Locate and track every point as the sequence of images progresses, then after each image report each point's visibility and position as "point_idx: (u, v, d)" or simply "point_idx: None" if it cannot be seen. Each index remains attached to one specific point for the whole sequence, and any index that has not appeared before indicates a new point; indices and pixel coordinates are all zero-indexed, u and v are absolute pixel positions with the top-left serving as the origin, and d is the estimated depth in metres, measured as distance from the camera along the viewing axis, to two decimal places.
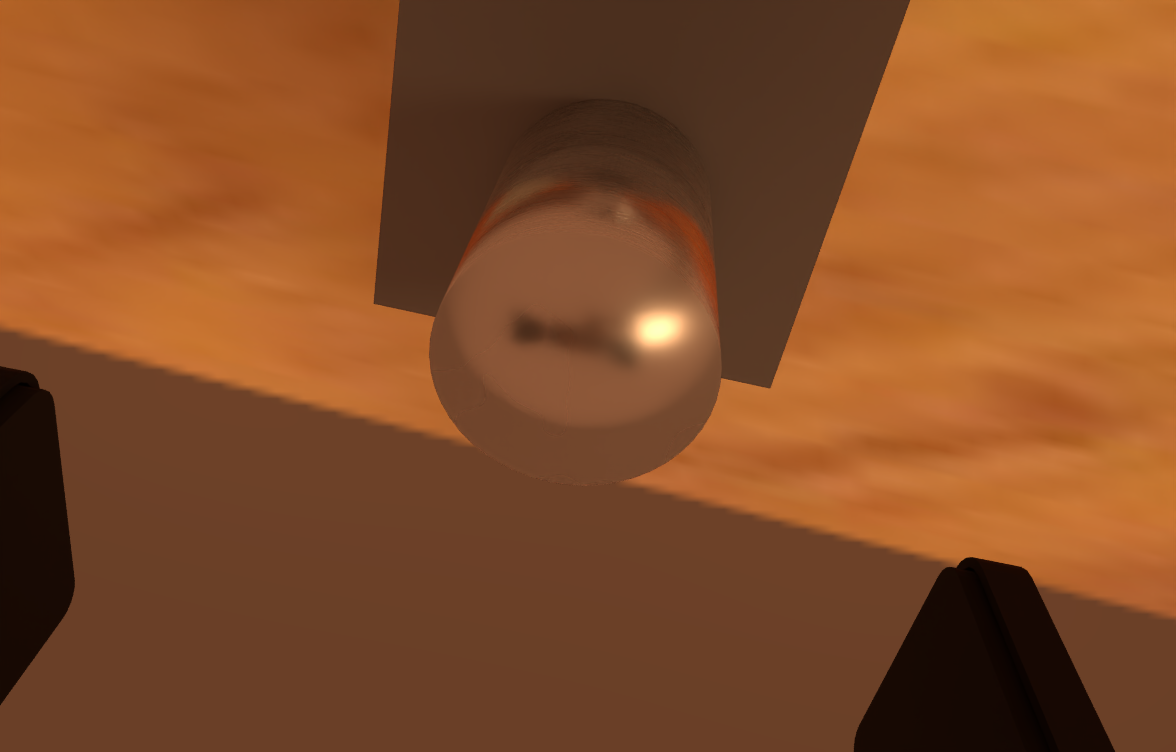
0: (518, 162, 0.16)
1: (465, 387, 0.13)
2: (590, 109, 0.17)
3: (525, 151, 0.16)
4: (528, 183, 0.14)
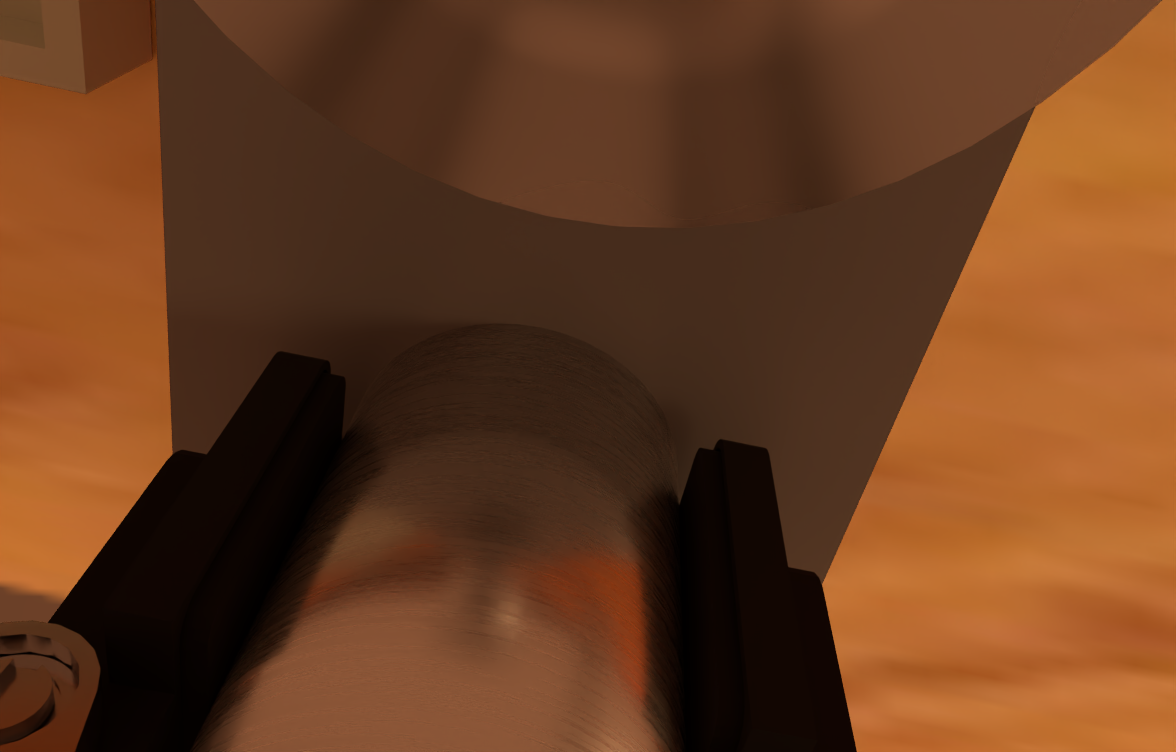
0: (346, 468, 0.09)
1: None
2: (478, 350, 0.10)
3: (362, 440, 0.09)
4: (335, 564, 0.08)
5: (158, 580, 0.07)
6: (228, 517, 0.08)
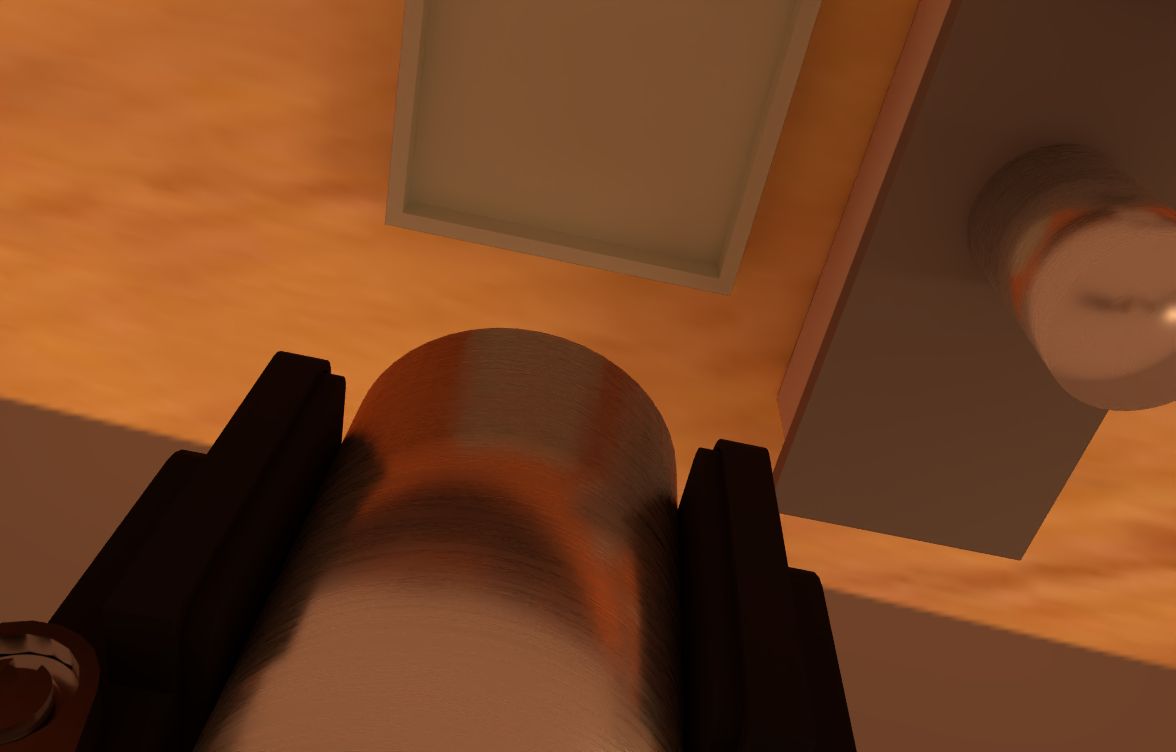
0: (345, 473, 0.09)
1: None
2: (477, 355, 0.10)
3: (362, 445, 0.09)
4: (335, 570, 0.08)
5: (158, 580, 0.07)
6: (228, 517, 0.08)
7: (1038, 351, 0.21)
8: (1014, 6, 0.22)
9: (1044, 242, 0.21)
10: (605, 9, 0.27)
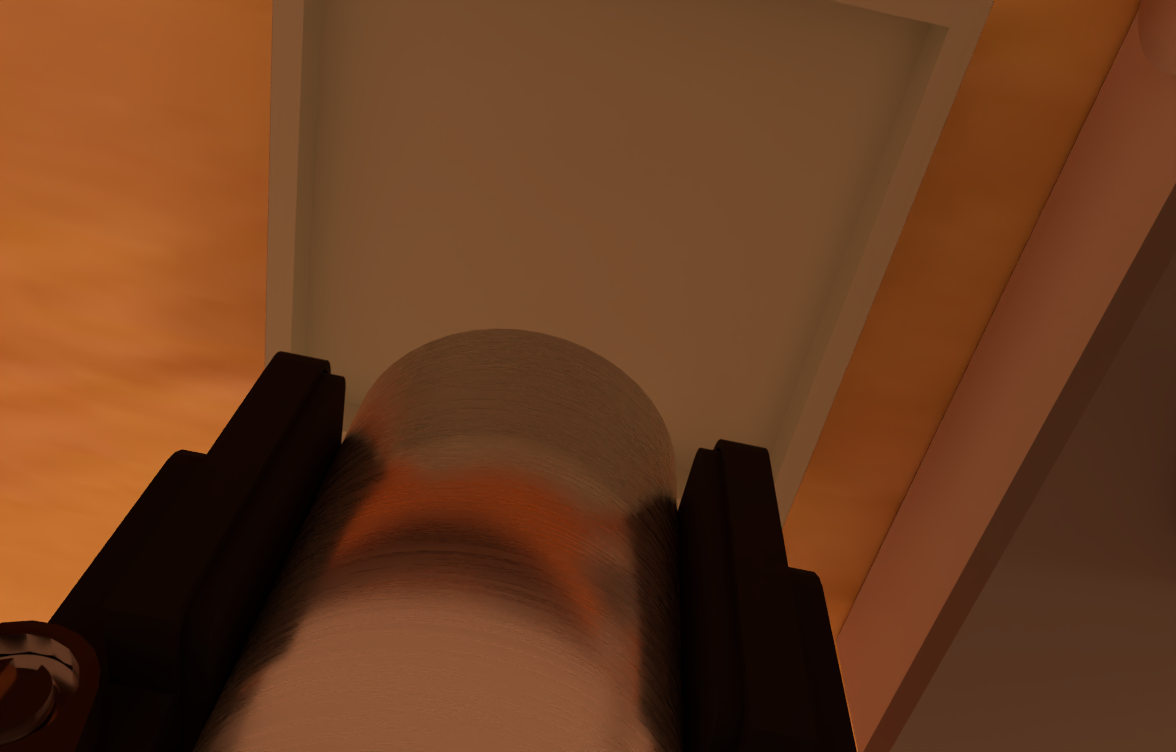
0: (345, 474, 0.09)
1: None
2: (476, 356, 0.10)
3: (361, 445, 0.09)
4: (334, 571, 0.08)
5: (158, 580, 0.07)
6: (228, 517, 0.08)
7: None
8: None
9: None
10: (591, 131, 0.17)
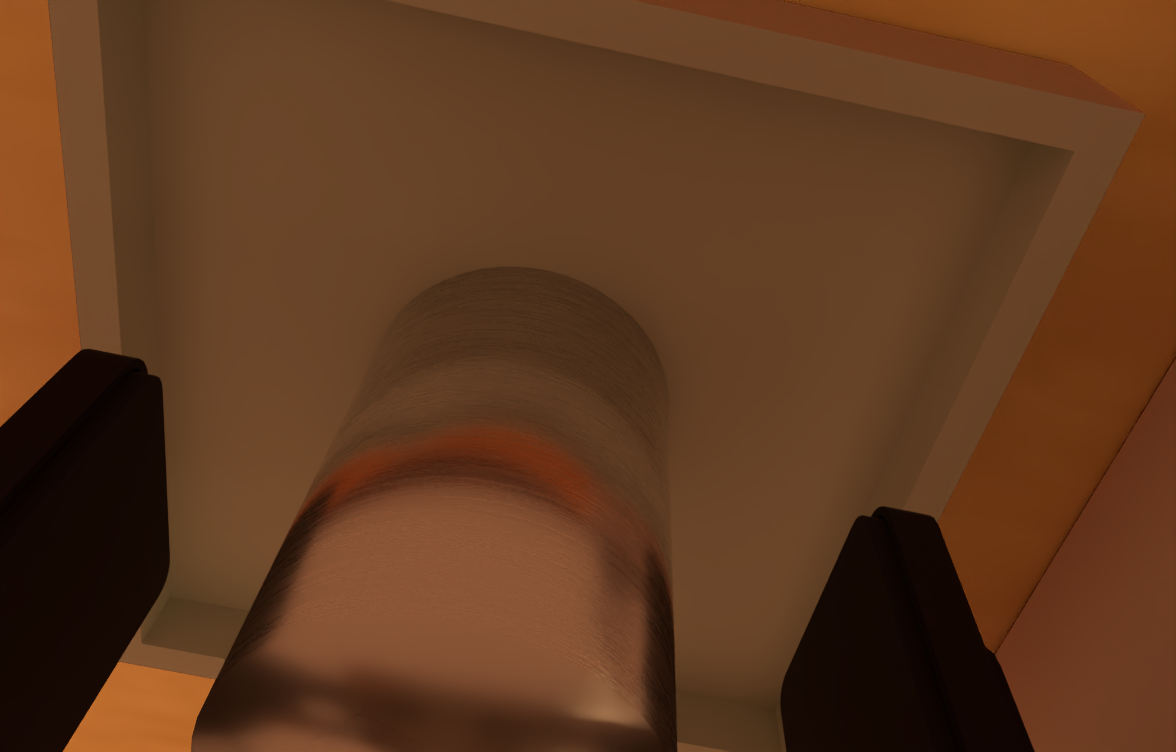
0: (373, 387, 0.10)
1: None
2: (486, 288, 0.11)
3: (387, 365, 0.11)
4: (369, 456, 0.09)
5: None
6: None
7: None
8: None
9: None
10: None
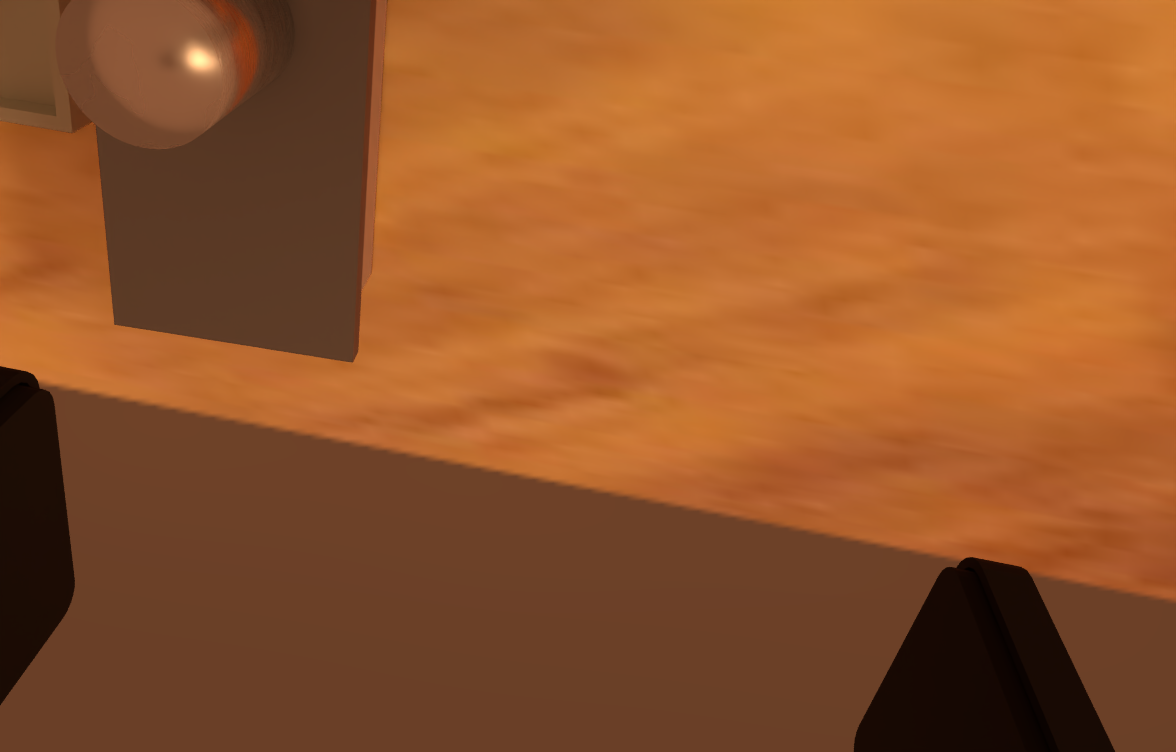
0: None
1: None
2: None
3: None
4: None
5: None
6: None
7: None
8: None
9: None
10: None
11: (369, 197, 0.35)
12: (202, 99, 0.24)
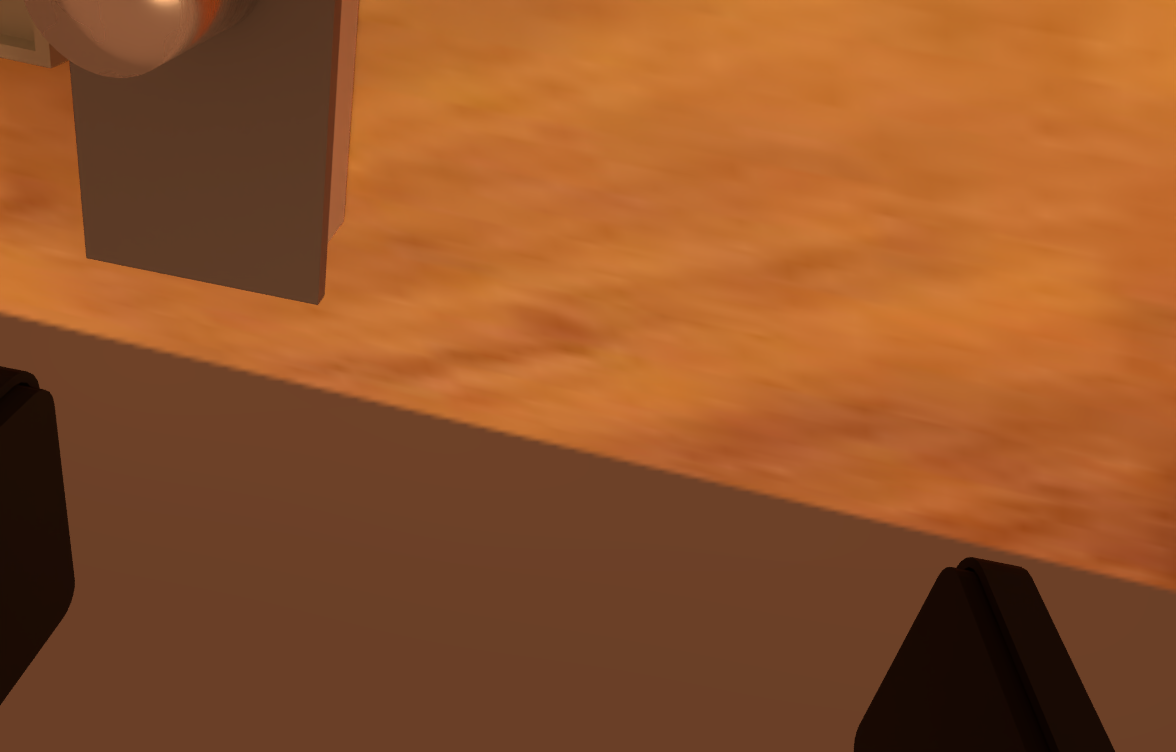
0: None
1: None
2: None
3: None
4: None
5: None
6: None
7: None
8: None
9: None
10: None
11: (341, 144, 0.36)
12: (160, 29, 0.24)
